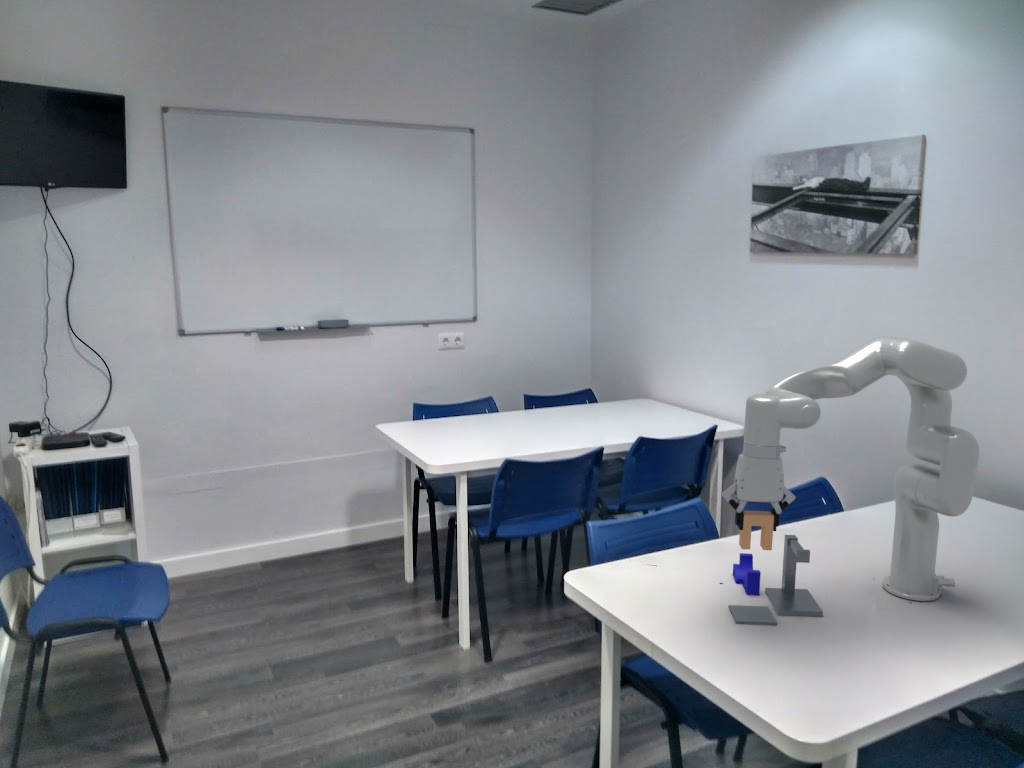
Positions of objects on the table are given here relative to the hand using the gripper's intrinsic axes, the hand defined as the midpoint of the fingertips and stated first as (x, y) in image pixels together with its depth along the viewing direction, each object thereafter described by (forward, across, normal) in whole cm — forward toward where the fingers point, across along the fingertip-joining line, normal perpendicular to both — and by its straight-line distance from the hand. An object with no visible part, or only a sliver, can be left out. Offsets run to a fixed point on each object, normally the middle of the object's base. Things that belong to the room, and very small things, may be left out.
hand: (756, 527), depth 169 cm
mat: (+21, 0, 0) cm, 21 cm away
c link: (+5, 0, 0) cm, 5 cm away
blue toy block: (+21, -3, -17) cm, 28 cm away
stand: (+21, -11, -7) cm, 25 cm away
